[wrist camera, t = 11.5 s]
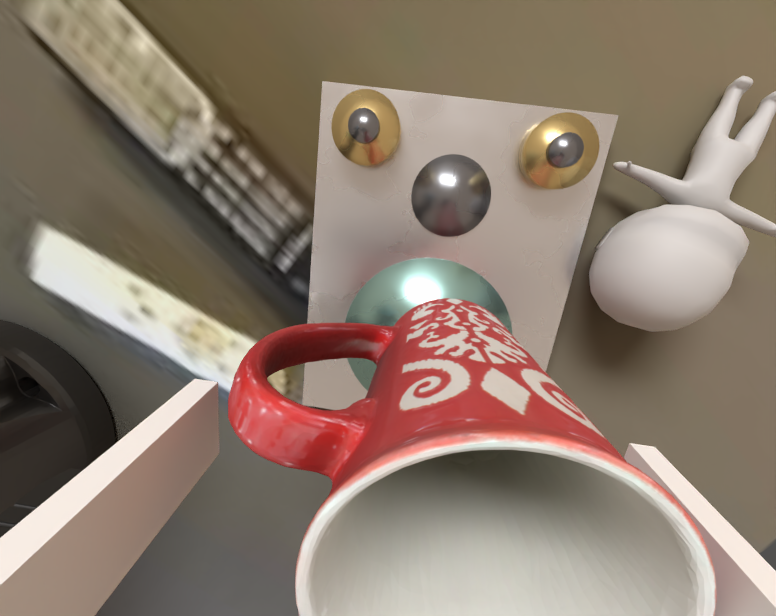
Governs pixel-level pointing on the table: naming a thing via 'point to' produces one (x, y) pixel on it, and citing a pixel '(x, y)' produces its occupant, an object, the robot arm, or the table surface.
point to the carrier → (445, 215)
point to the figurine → (684, 229)
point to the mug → (465, 481)
